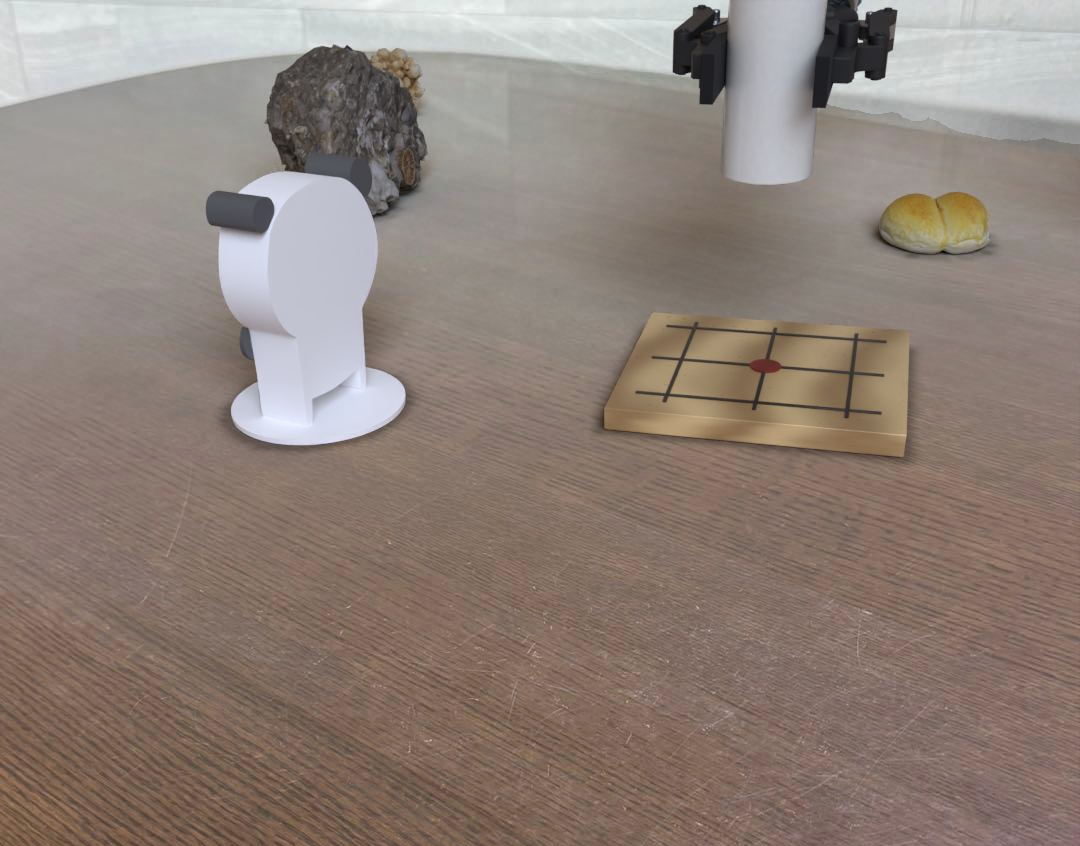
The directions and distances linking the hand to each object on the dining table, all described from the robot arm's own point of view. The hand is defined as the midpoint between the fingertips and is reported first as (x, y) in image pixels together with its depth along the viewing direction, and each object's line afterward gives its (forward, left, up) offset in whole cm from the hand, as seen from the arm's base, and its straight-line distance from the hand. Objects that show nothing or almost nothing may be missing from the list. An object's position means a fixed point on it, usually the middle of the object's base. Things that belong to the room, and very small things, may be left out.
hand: (763, 80), depth 67 cm
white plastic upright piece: (+27, +6, -20) cm, 34 cm away
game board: (-1, -2, -20) cm, 20 cm away
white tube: (0, -5, -6) cm, 8 cm away
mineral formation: (+55, -68, -20) cm, 90 cm away
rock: (+43, -37, -20) cm, 60 cm away
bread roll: (-12, -34, -20) cm, 41 cm away
